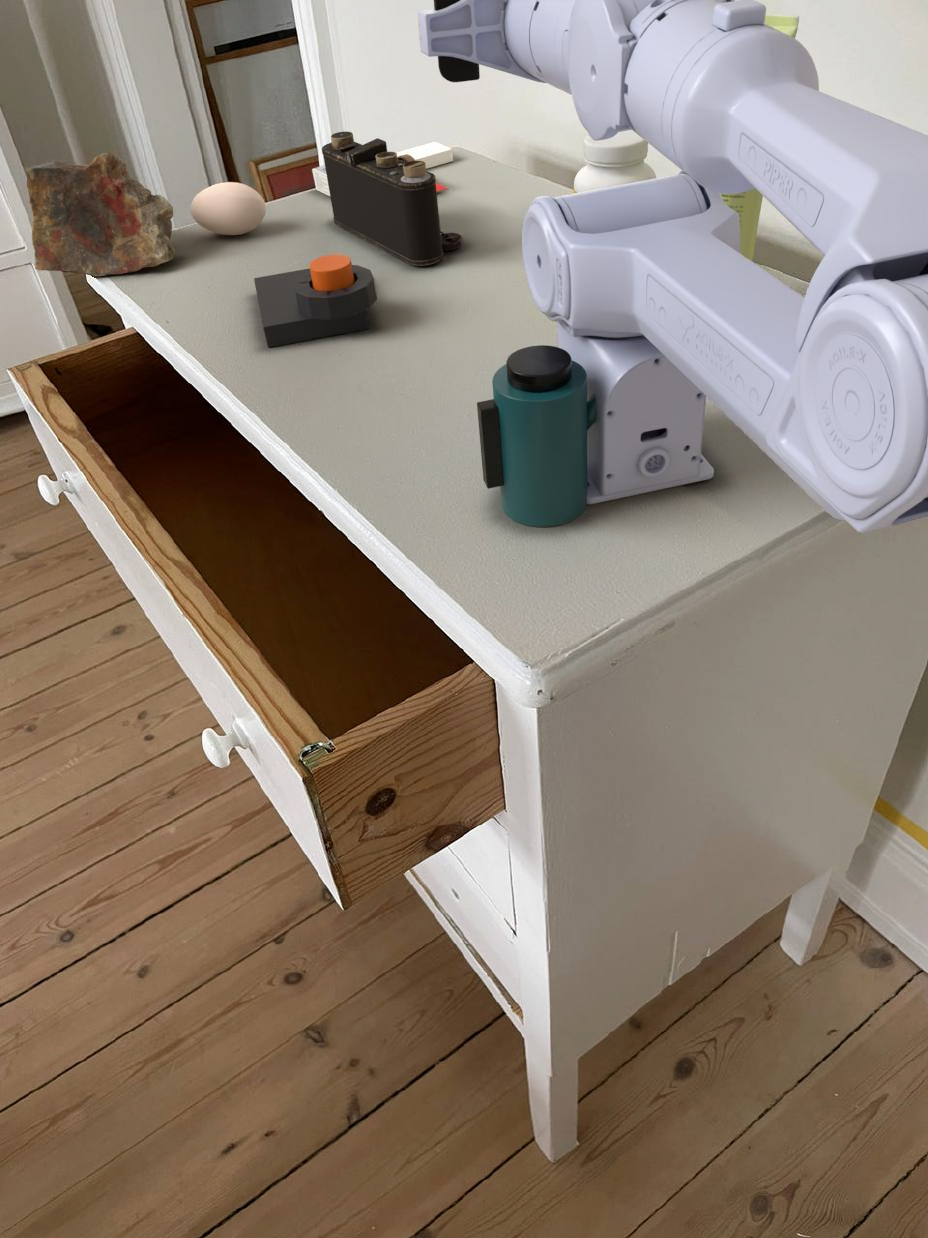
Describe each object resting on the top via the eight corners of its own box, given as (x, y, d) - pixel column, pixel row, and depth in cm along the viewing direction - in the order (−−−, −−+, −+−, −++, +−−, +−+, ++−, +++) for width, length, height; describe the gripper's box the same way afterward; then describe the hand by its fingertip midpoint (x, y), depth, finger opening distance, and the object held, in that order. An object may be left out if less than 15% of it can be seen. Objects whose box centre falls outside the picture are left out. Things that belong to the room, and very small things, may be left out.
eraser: (396, 151, 105) (413, 160, 103) (434, 140, 107) (452, 148, 104) (397, 164, 106) (415, 172, 103) (435, 152, 108) (453, 160, 105)
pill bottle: (649, 300, 75) (656, 148, 68) (570, 300, 77) (568, 151, 69) (654, 267, 80) (661, 122, 72) (579, 268, 81) (578, 125, 74)
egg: (274, 193, 94) (202, 197, 96) (256, 170, 90) (181, 175, 91) (273, 241, 94) (201, 244, 96) (254, 220, 90) (180, 225, 91)
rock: (109, 179, 96) (38, 117, 86) (215, 193, 92) (153, 131, 82) (73, 298, 95) (-3, 250, 86) (178, 318, 91) (111, 270, 82)
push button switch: (385, 332, 75) (378, 288, 73) (269, 353, 74) (258, 309, 72) (363, 278, 83) (356, 237, 81) (258, 297, 82) (248, 256, 80)
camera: (477, 248, 86) (470, 152, 80) (413, 270, 83) (401, 172, 78) (383, 203, 96) (371, 116, 91) (324, 222, 94) (308, 133, 89)
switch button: (357, 288, 74) (353, 266, 73) (316, 296, 74) (311, 273, 72) (351, 273, 76) (347, 251, 75) (311, 280, 76) (306, 258, 75)
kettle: (626, 510, 55) (631, 365, 49) (499, 538, 54) (487, 394, 48) (597, 465, 59) (598, 325, 53) (477, 490, 58) (464, 350, 52)
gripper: (717, -78, 49) (616, -85, 60) (439, -49, 47) (385, -63, 57) (705, 79, 53) (612, 47, 64) (450, 112, 51) (398, 73, 62)
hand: (505, 4), depth 61 cm, fingers open, 7 cm apart
